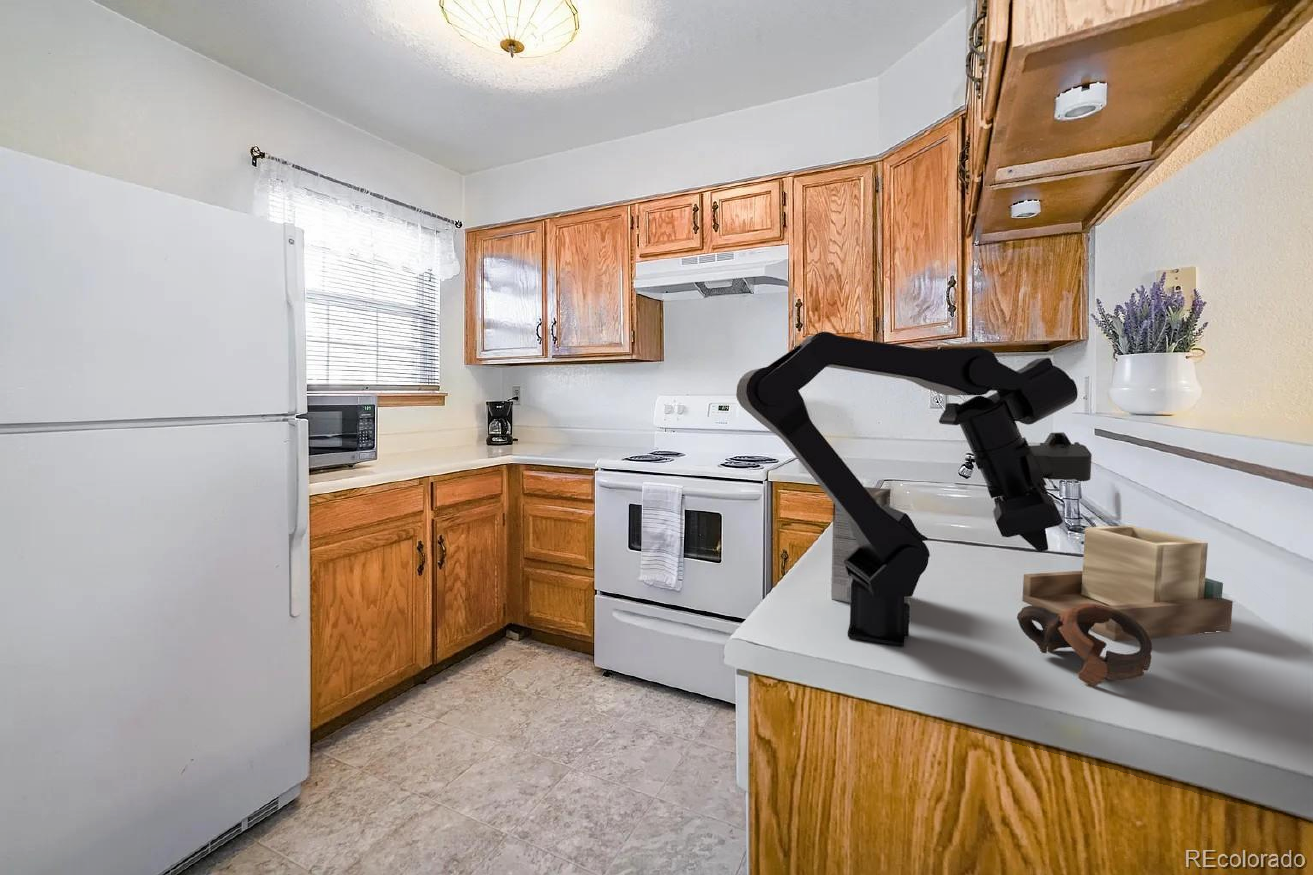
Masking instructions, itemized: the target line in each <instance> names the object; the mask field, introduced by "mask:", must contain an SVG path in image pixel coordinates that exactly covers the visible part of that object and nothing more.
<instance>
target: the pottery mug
mask: <svg viewBox="0 0 1313 875" xmlns="http://www.w3.org/2000/svg"><path fill="white" fill-rule="evenodd" d="M1016 619H1017V620H1018V621H1017V622H1018V625H1019V627H1020V629H1021V630H1022V632H1023V633H1024V634H1025V635H1026V636H1027V638H1028V639H1030V640H1032V642H1034V643H1035V644H1036V645H1037V647H1038V648H1039V651H1040V652H1041V653H1042V654H1047V652H1048V653H1049V652H1050V653H1051V654H1052V652H1054V651H1055V650H1057V649H1066V648H1071V649H1073V651H1074V652H1075V654H1077V655H1078V656H1079V657H1080V658H1081V659H1082V660H1083V661H1085V663H1084V665H1083V667H1082V669H1081V670H1079V671H1078V673H1077V676H1078V679H1079V680H1080V681H1082V682H1083V683H1085V684H1087V685H1088V686H1090V687H1097V686H1099V685H1102V684H1103V682H1104V681H1105V682H1108V683H1112V682H1120V681H1121V682H1122V681H1126V680H1132V679H1133V680H1134V679H1136V678H1139V677H1142V676H1144V675H1145V674H1144V673H1145V672H1144V671H1146V672H1147V671H1149V669H1150V666H1151V663H1152V654H1151V653H1152V650H1153V644H1152V641H1151V639H1152V638H1150V637H1149V636H1148V634H1147V633H1146V631H1145V630H1144V629H1143V627H1141V626H1140V625H1139V624H1138V623H1137V622H1136V621H1135V620H1133V619H1132V618H1130V617H1129V616H1127V615H1125V614H1123V613H1121V612H1119V611H1117V610H1113V609H1111V608H1109V607H1106V606H1102V605H1097V604H1081V605H1078V606H1075V607H1074V608H1073V609H1072V610H1067V611H1064V612H1062V613H1054V612H1052V611H1050V610H1048V609H1046V608H1044V607H1040V606H1035V605H1031V604H1030V605H1028V606H1027V605H1026V606H1024V607H1023V608H1021V610H1020V612H1018V613H1017V615H1016ZM1110 619H1112V620H1113V621H1115V622H1117V623H1118V624H1119V625H1120V626H1121V627H1122V630H1123V631H1124V632H1126V633H1127V634H1129V635H1132V636H1133V637H1135V638H1137V639H1136V640H1137V641H1138V643H1139V646H1140V647H1139V650H1138V651H1136V652H1133V653H1127V654H1126V653H1125V654H1124V653H1118V652H1114V651H1111V650H1106V651H1105V652H1106V653H1105V657H1104V658H1103V657H1101V655H1102V652H1103V650H1104V649H1105V648H1106V646H1107V645H1108V644H1107V642H1105V641H1104V640H1101V639H1099V638H1097V637H1096V636H1094V635H1093V634H1091V633H1089V632H1090V630H1089V629H1091V627H1092V626H1094V624H1095V623H1105V622H1107V621H1109V620H1110ZM1033 621H1034V622H1036V623H1038V624H1039V625H1040V627H1041V628H1042V629H1040V628H1038V627H1037V625H1035V624H1034V622H1033ZM1050 653H1049V654H1050Z"/></svg>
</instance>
